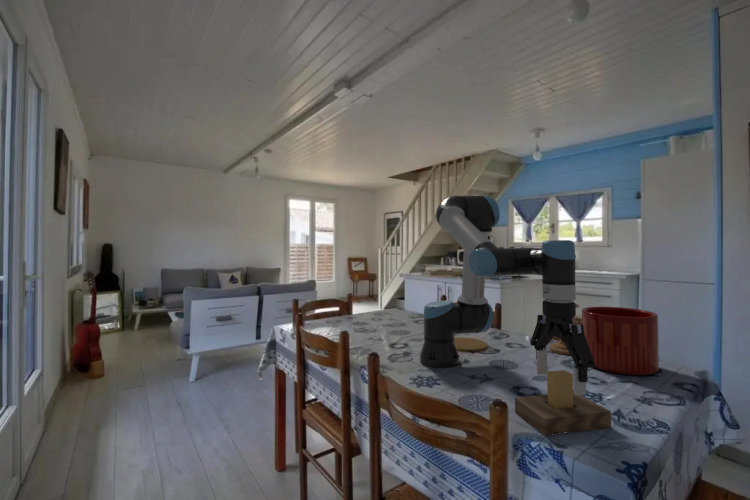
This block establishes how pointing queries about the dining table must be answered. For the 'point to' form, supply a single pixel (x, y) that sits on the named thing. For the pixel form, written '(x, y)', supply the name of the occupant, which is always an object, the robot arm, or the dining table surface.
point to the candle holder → (561, 345)
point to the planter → (622, 339)
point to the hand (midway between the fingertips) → (559, 383)
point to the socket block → (562, 415)
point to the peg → (560, 389)
